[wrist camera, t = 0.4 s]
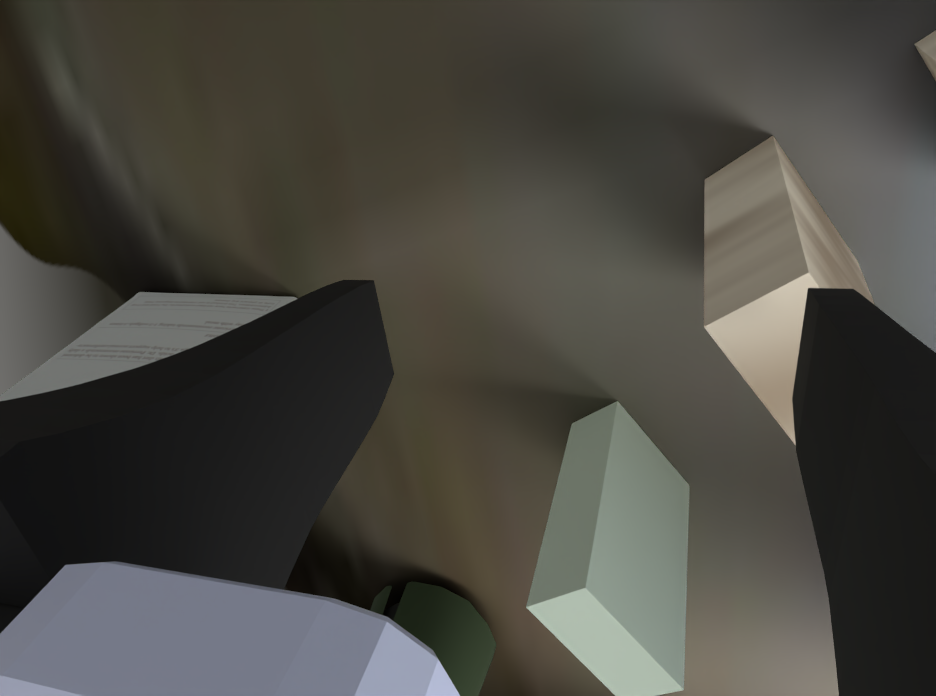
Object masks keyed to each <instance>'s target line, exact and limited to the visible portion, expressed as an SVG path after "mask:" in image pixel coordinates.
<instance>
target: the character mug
mask: <svg viewBox="0 0 936 696" xmlns="http://www.w3.org/2000/svg"><path fill="white" fill-rule="evenodd" d="M391 588H392V586H386V587H385V588H384V589H383V590H382V591H381V592H380V593H379V594H378V595H377V596H376V597H375V598H374V601H373V604H372V606H371V609H370V611H372V612H375V613H378V614H381V615H383V616H386V617H388V618H390V619H391V620H393V621H394V622H395V623H397V624H398V625H399V626H401V627H402V628H403V629H405V630H406V631H408V632H409V633H410V634H412V635H413V636H414V637H416V638H417V639H418V640H420V641H421V642H423V643H424V644H425V645H427V646H428V647H429V648H431V649H432V650H433V651H434V653H435V654H436V656H437V658H438V659H439V661H440V663H441V664H442V666H443V668H444V670H445V671H446V673H447V675H448V676H449V678H450V680H451V681H452V683H453V685H454V686H455V688H456V690H457V691H458V693H459V695H460V696H478V695H479V693H480V690H481V688H482V685H483V682H484V680H485V677H486V675H487V672H488V669H489V667H490V664H491V662H492V659H493V655H494V652H495V648H496V642H495V640H494V638H493V636H492V633H491V631H490V629H489V626H488V624H487V623H486V622H485V621H484V619H483V618H482V617H481V616H480V614H479V613H478V612H477V611H476V609H475V608H474V607H473V606H472V604H471V603H470V602H469V601H468V600H466V599H464V598H462V597H460V596H458V595H456V594H454V593H452V592H450V591H448V590H446V589H444V588H442V587H440V586H434V585H429V584H424V583H419V582H414V581H413V582H409V583H407V585H406V587H405V590H404V593H403V595H402V598H401V601H400V603H397V604H395V605H393V606H391V607H389V608H387V609H385V606H386V603H387V600H388V597H389V594H390V591H391ZM384 609H385V610H384Z"/></svg>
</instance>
